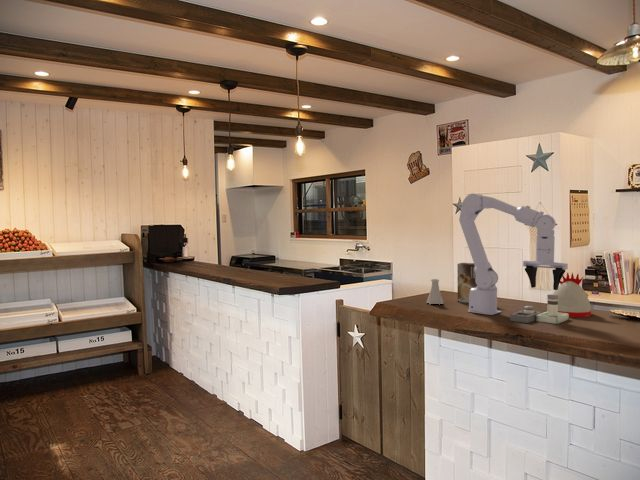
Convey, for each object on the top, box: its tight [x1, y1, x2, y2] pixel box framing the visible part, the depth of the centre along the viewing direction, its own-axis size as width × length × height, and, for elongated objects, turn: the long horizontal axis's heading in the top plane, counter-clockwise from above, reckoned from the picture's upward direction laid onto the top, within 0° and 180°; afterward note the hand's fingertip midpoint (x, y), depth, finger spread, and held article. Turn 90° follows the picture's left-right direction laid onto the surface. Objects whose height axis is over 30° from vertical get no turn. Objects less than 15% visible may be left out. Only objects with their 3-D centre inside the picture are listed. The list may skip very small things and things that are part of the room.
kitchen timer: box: [552, 272, 592, 318], centre depth 181 cm, size 14×14×15 cm
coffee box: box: [456, 262, 477, 304], centre depth 206 cm, size 9×6×16 cm
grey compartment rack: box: [509, 305, 542, 324], centre depth 171 cm, size 6×11×4 cm, turn 134°
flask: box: [426, 278, 445, 306], centre depth 203 cm, size 7×7×10 cm
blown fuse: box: [546, 293, 558, 317], centre depth 169 cm, size 3×3×8 cm
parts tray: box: [535, 311, 570, 325], centre depth 169 cm, size 7×10×2 cm
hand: (544, 288), depth 173 cm, fingers open, 7 cm apart
